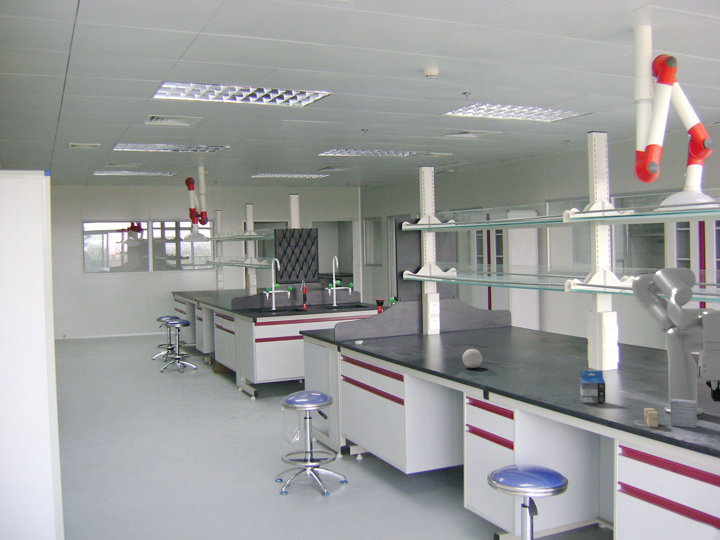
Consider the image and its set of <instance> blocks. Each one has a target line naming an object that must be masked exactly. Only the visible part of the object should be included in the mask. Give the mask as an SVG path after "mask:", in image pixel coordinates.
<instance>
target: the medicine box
mask: <svg viewBox="0 0 720 540" xmlns="http://www.w3.org/2000/svg"><path fill="white" fill-rule="evenodd" d="M697 407H698V401H697V402H696V401H694V400H683V399H671V401H670V412H671V413H670V426H671V427H673V426H674V427H679V428H680V427H681V428H688V429H689V428H691V429H697V425H698V415H697Z"/></svg>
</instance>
